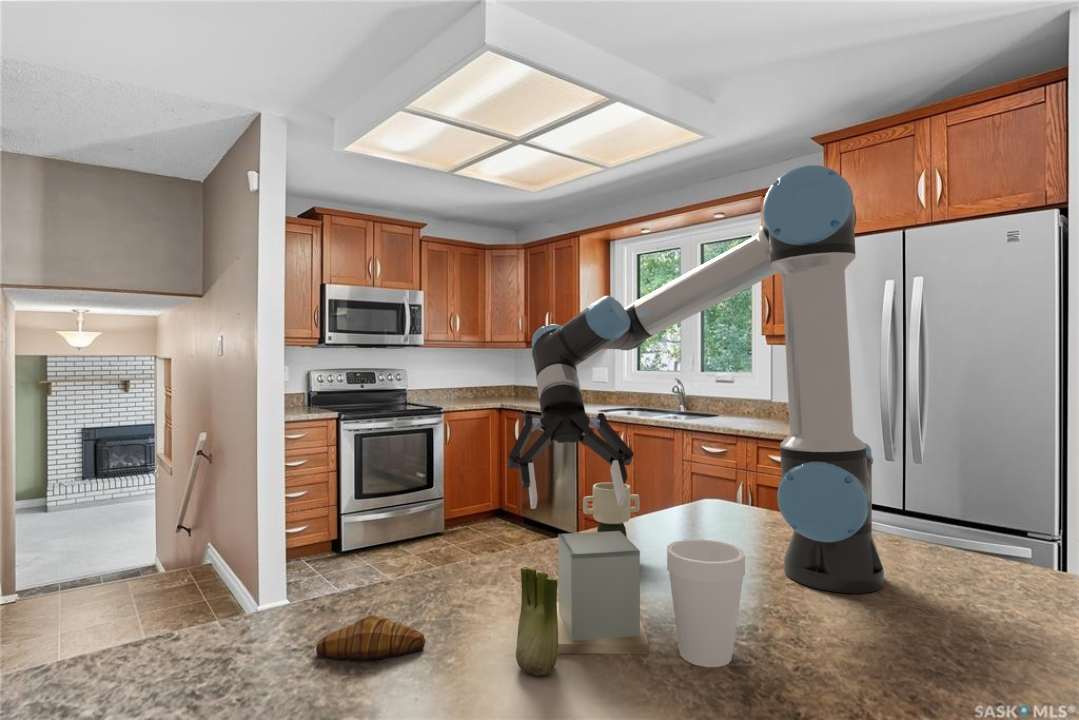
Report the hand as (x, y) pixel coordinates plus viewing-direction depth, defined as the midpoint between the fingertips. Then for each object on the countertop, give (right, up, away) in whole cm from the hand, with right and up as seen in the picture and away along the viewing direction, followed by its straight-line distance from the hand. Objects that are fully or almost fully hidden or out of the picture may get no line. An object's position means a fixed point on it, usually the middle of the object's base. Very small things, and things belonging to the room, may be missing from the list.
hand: (578, 502), depth 92 cm
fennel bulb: (-6, -16, -20) cm, 26 cm away
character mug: (+8, -15, +22) cm, 28 cm away
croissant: (-27, -16, -15) cm, 35 cm away
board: (0, -15, -9) cm, 18 cm away
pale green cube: (+2, -14, -10) cm, 17 cm away
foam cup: (+15, -15, -16) cm, 27 cm away
